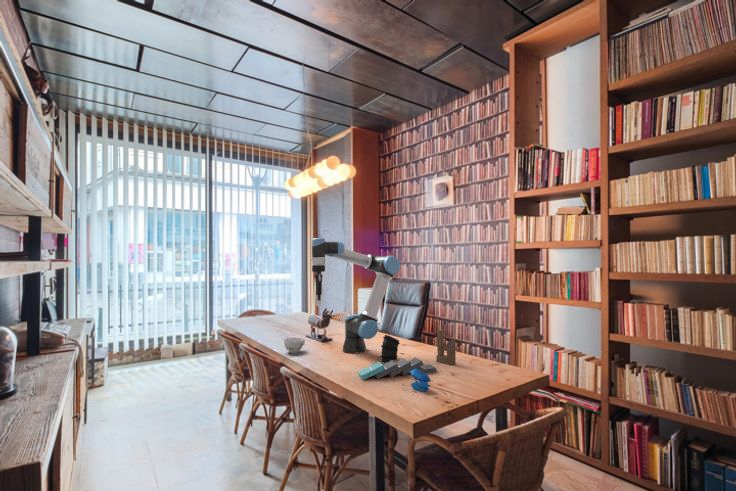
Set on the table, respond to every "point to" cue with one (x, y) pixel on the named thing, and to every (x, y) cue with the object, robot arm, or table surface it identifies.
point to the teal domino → (371, 370)
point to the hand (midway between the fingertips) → (318, 305)
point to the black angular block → (389, 349)
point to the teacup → (294, 344)
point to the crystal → (420, 380)
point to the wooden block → (445, 349)
